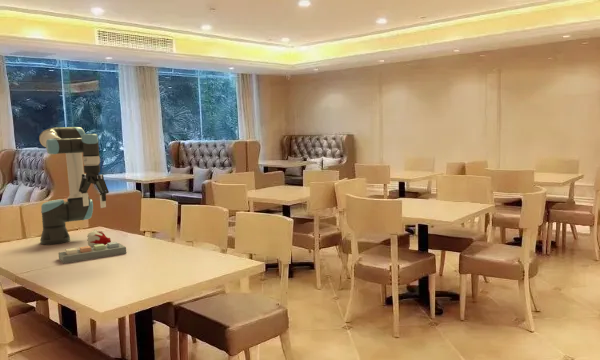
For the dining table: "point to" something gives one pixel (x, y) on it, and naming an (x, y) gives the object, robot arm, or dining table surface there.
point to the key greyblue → (112, 245)
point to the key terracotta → (85, 249)
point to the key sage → (99, 247)
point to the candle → (97, 238)
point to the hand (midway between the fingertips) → (94, 206)
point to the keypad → (91, 254)
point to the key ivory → (71, 251)
